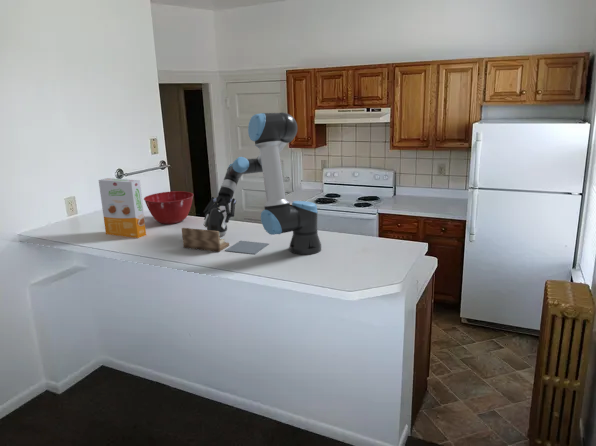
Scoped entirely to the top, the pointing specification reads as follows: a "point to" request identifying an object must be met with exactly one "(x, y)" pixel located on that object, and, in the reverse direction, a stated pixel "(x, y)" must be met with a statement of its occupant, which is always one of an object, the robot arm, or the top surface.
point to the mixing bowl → (169, 206)
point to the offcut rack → (203, 240)
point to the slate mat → (247, 247)
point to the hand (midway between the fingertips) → (213, 226)
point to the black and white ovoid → (216, 221)
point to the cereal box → (122, 207)
